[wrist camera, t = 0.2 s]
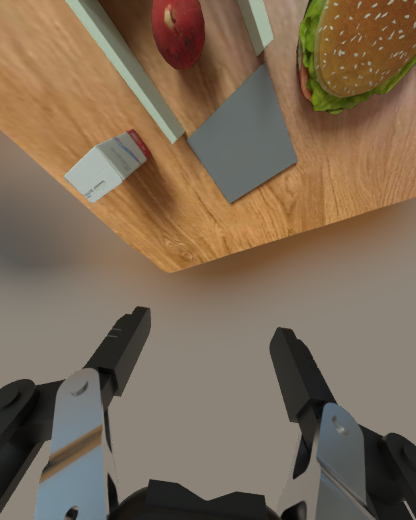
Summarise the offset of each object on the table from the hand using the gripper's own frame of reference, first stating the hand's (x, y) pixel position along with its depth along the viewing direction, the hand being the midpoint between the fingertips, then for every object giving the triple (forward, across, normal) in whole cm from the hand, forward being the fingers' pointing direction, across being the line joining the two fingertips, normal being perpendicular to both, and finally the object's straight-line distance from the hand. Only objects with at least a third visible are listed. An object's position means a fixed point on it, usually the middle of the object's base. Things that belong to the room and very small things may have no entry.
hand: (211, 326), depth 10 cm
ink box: (+29, +19, -10) cm, 36 cm away
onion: (+24, +8, -24) cm, 35 cm away
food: (+24, -13, -26) cm, 38 cm away
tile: (+28, -2, -13) cm, 31 cm away
